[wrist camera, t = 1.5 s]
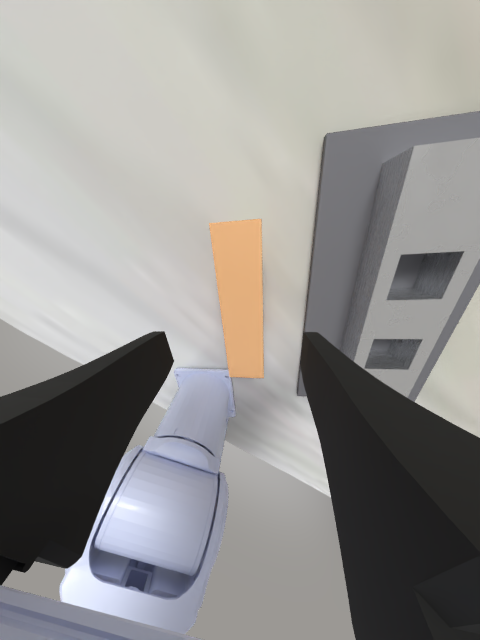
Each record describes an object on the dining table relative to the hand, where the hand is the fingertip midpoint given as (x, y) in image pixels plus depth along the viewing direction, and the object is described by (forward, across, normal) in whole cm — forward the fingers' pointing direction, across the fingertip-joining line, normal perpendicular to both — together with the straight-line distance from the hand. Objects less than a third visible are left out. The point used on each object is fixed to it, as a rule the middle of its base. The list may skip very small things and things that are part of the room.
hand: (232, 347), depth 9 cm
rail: (+10, -13, +2) cm, 17 cm away
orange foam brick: (+10, 0, 0) cm, 11 cm away
